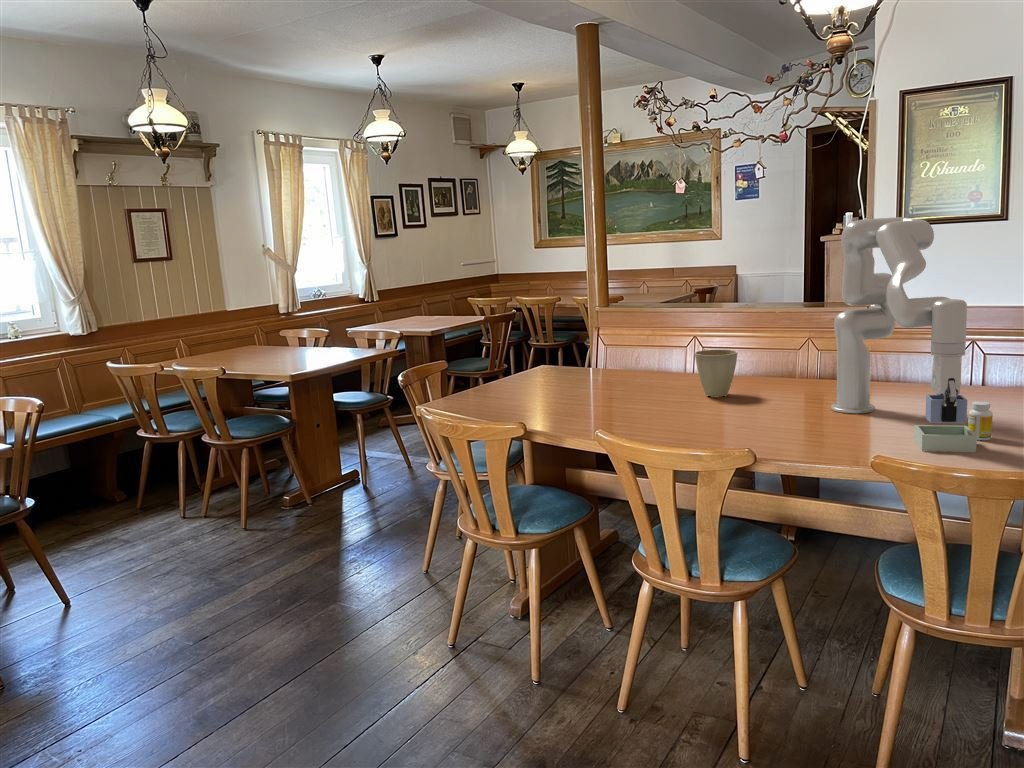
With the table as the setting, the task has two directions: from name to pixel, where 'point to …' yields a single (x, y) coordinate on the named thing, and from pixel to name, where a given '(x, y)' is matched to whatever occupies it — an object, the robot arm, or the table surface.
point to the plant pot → (716, 370)
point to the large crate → (945, 438)
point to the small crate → (935, 409)
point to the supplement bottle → (980, 420)
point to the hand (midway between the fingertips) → (945, 417)
